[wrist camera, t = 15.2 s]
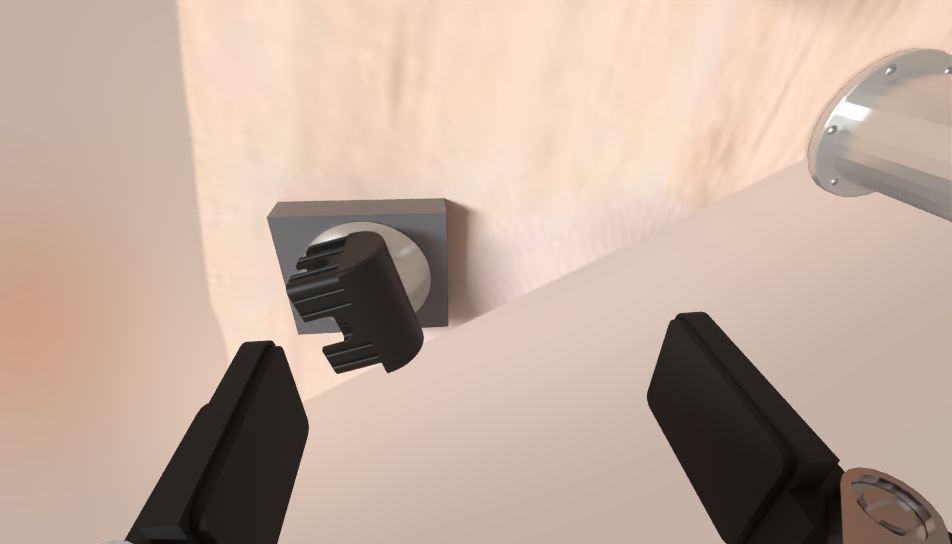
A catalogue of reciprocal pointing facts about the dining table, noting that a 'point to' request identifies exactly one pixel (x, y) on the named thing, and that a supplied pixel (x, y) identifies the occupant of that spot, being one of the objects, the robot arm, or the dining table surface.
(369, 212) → the grey domed push button
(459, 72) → the dining table surface
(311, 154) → the dining table surface
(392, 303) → the end cap
